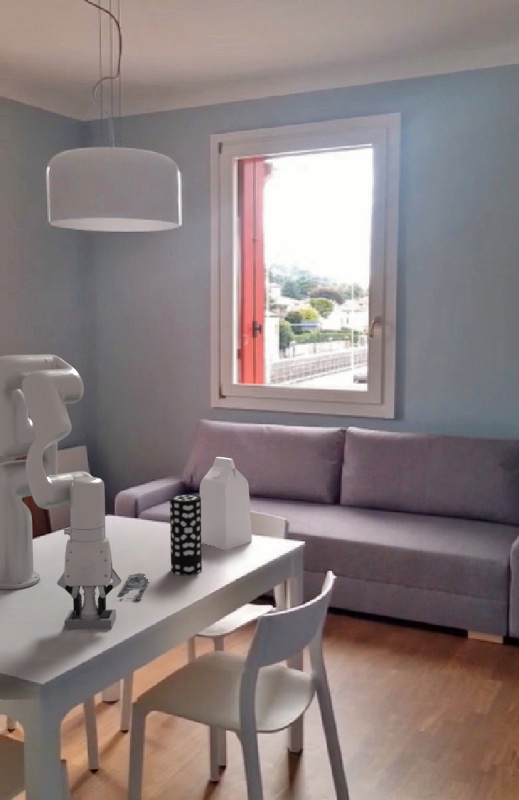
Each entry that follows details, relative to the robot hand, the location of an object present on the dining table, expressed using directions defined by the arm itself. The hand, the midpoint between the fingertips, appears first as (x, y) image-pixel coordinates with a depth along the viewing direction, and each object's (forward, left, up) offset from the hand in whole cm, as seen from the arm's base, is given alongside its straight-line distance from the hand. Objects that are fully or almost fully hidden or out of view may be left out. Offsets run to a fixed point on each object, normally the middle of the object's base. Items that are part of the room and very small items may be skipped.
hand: (90, 612), depth 181 cm
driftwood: (+7, +24, -3) cm, 25 cm away
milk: (+29, +66, -3) cm, 72 cm away
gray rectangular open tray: (0, 0, -3) cm, 3 cm away
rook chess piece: (0, 0, -1) cm, 1 cm away
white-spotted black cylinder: (+19, +38, -3) cm, 42 cm away
